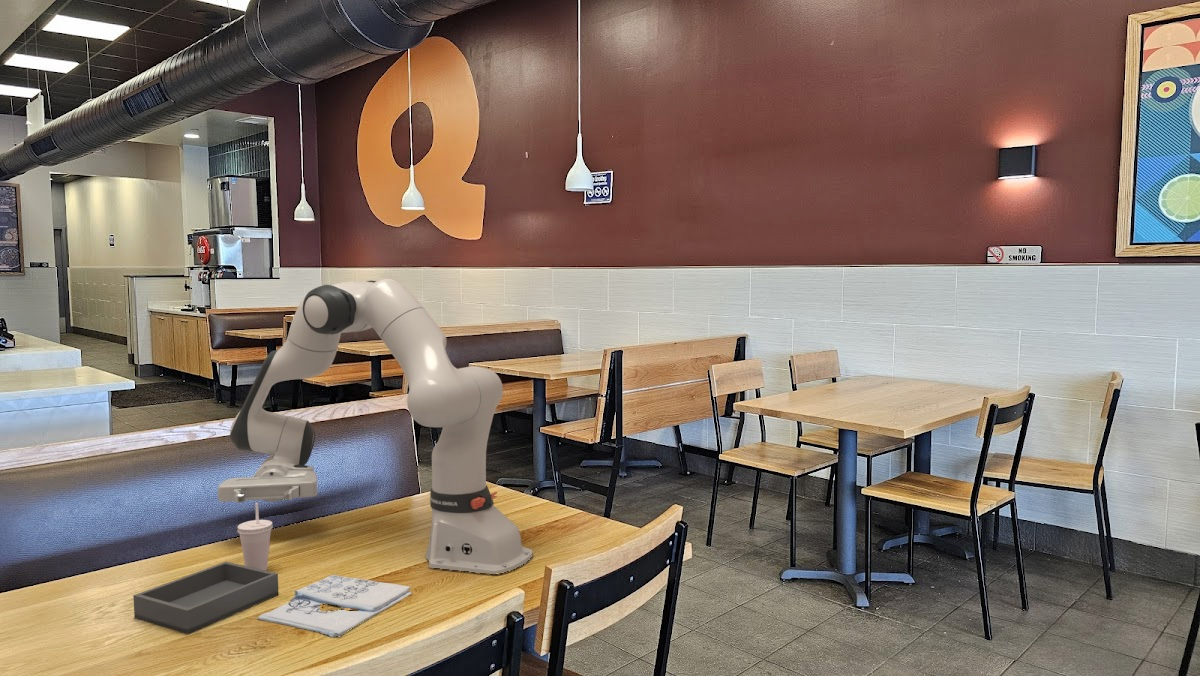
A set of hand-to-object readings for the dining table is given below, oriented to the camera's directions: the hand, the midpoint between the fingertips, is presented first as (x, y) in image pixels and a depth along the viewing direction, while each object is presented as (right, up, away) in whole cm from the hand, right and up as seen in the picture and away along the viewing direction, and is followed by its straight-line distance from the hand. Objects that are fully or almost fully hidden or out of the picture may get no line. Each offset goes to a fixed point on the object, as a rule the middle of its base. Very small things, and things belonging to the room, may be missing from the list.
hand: (263, 497), depth 166 cm
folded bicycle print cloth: (+24, -14, -27) cm, 39 cm away
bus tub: (+2, -14, -27) cm, 30 cm away
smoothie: (+3, -13, -11) cm, 17 cm away
